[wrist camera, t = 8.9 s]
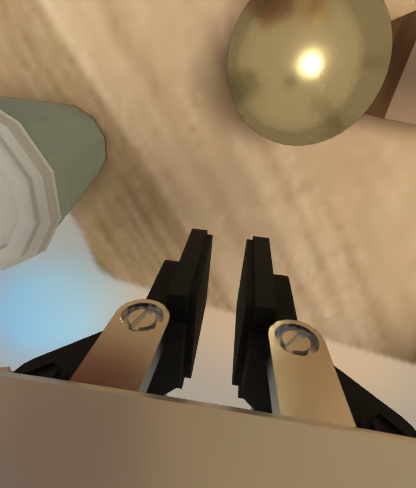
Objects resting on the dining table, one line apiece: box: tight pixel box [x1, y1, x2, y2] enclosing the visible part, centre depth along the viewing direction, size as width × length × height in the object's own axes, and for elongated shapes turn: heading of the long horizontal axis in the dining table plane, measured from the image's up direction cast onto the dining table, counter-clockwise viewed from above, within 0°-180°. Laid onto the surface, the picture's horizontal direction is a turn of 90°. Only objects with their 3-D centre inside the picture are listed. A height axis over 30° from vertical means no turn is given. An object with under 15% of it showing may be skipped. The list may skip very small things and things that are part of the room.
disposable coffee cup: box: [0, 96, 106, 270], centre depth 23 cm, size 11×11×15 cm
